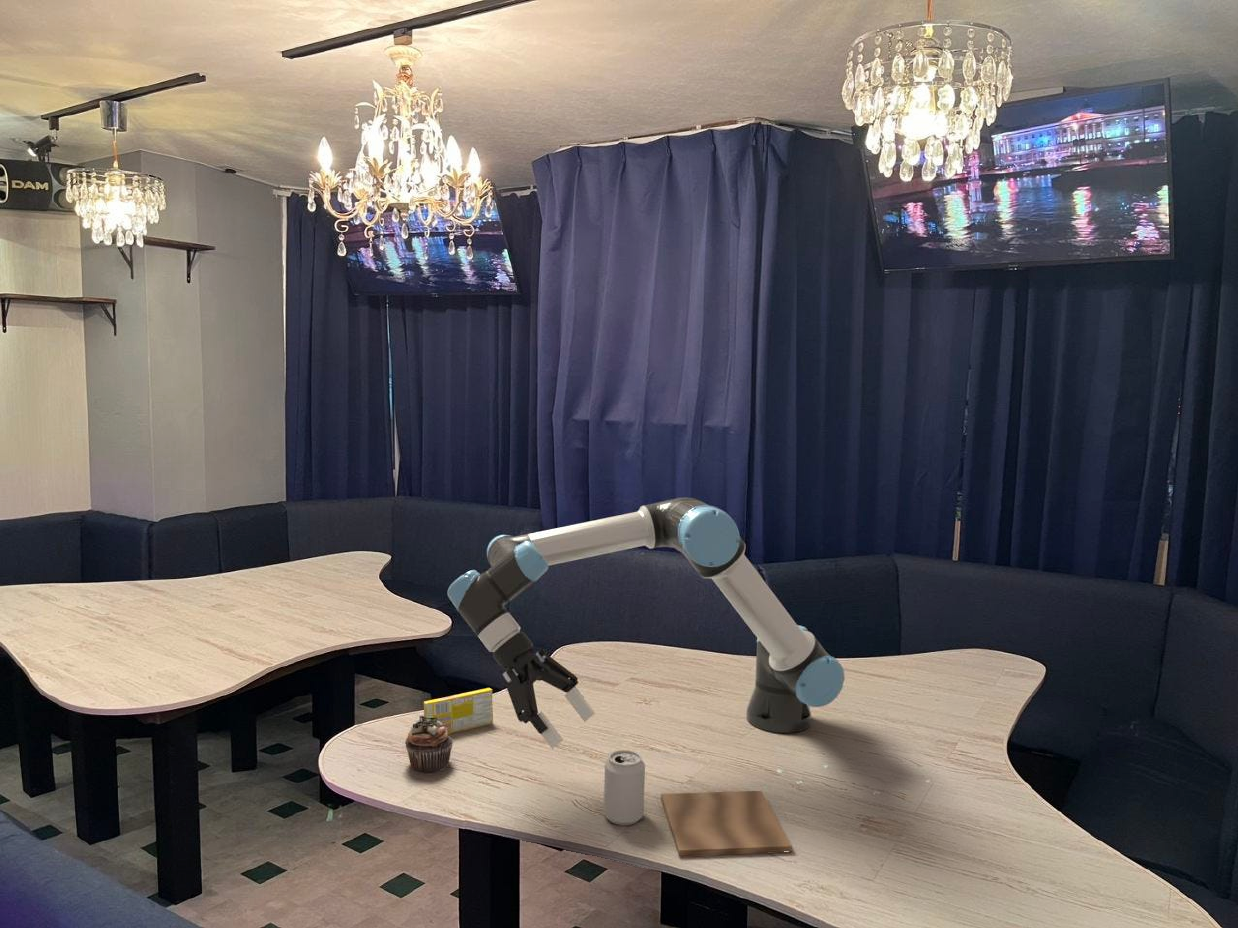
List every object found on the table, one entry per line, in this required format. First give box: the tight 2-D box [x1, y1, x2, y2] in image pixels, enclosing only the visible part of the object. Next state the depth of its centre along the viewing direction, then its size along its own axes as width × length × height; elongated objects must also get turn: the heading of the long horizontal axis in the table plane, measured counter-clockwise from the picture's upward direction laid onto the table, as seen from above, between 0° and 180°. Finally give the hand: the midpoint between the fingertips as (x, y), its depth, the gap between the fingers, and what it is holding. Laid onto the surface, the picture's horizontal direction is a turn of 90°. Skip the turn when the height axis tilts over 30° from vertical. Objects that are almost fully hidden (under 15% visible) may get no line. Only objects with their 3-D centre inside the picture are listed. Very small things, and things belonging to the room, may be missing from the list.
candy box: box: [423, 687, 494, 735], centre depth 206 cm, size 16×2×8 cm, turn 123°
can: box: [603, 749, 646, 826], centre depth 169 cm, size 8×8×12 cm
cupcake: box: [405, 715, 454, 774], centre depth 188 cm, size 10×10×10 cm
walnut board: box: [660, 790, 793, 858], centre depth 167 cm, size 20×20×1 cm
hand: (574, 730), depth 172 cm, fingers open, 13 cm apart
